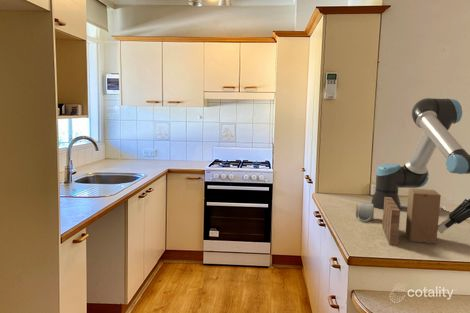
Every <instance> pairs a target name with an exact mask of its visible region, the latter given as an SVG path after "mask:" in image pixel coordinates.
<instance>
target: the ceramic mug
mask: <svg viewBox="0 0 470 313" xmlns="http://www.w3.org/2000/svg"><path fill="white" fill-rule="evenodd" d="M374 210H375V207H374V204H371V203H357V204H356V206H355V218H357V220H358V221H359V222H361V223H368V222H370V221H374V216H375V215H374V214H375V212H374Z"/></svg>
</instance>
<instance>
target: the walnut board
mask: <svg viewBox="0 0 470 313" xmlns="http://www.w3.org/2000/svg"><path fill="white" fill-rule="evenodd" d="M382 210H383V214H382V225H381V226H382V230H383V232H384V235H385V238H386V241H387V243H388V245H389V246H396V247H397V246H399V245H398V243H399V234H400V233H399V230H400V218H401V217H400V216H401V209H399V208H398V207H397V205H396V203H395V202H394V200H393V199H392V197H384V209H382Z"/></svg>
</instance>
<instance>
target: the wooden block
mask: <svg viewBox="0 0 470 313" xmlns="http://www.w3.org/2000/svg"><path fill="white" fill-rule="evenodd" d="M441 196H442V195H441V194H440V193H439V192H437V191H436V190H434V189H425V188H408V197H407V210H406V220H405V221H406V222H405V232H404V233H405V236H406V237H407V239H408V240H409V242H415V243H416V242H417V243H424V244H425V243H426V244H437V240H438V232H439V231H438V225H439V217H440V206H441Z"/></svg>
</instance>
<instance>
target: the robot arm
mask: <svg viewBox="0 0 470 313" xmlns="http://www.w3.org/2000/svg"><path fill="white" fill-rule="evenodd" d="M462 108H463V107H462V105H461V103H460V102H459V101H458V100H457V99H453V98H431V97H430V98H429V97H427V98H422V99H420V100H418V101H417V102H416V103H415V104H414V105H413V107H412V110H411V117H412V120H413V122H414V124H415V125H416V126H417V127H418V128H420V129H422V130H423V131H422V134H421V136H420V138H419V140H418V142H417V144H416V146H415V148H414V150H413V152H412V155H411V157H410V159H407V160H406V161H405V163H404V164H403V166H400V165H401V164H398V163H382V164H379V165H378V166H377V169H376V173H375V174H376V175H375V176H376V177H375V191H374V194H373V196H372V198H371V201H370V204H374V208H376V209H381V210H384V197H392V199H393V200H394V202H395V203H396V205H397V207H398V208H399V210H401V205H402V204H401V202H400V201H401V200H400V197H399V189H400V188H401V189H403V188H405V189H410V188H411V189H419V188H423V187H425V185H426V184H428V181H429V178H430V177H429V175H430V174H429V170H428V167H427V165H428V163H429V162H430V160H431V157H432V156H433V154H434V152H435V150H436V149H438V150H439V151H440V153H441V154H442V155H443V156H444V157H445V159H446V161H445V166H446V170H447V171H448V172H449V173H452V174H457V175H464V174H465V175H467V174H468V175H469V174H470V154H469V153H468V151H466V149H464V148H463V146H462V145H461V144H460V143H459V141H457V139H456V138H455V137H454V135H452V134H451V133H450V131H449V130H450V128H451V126H452V125H454V124H458V123H459V122H460V121H461V120H462V117H463V109H462ZM469 218H470V198H469V199H467V198H465V199H463V201H462V202H461V203H460V204H459V205H457V206H456V207H455V208H454V209H453V210H452V211H451V212H450V213H449V214H448V218H446V219H445V220H444V221H442V222H441V223H440V224H438V231H437V232H438V233H440V234H442V233H444V232H446V231H447V230H448V229H449V228H452V226H453V225H456V224H457V225H459V224H461V223H463V222H464V221H466V220H468V219H469Z"/></svg>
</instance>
